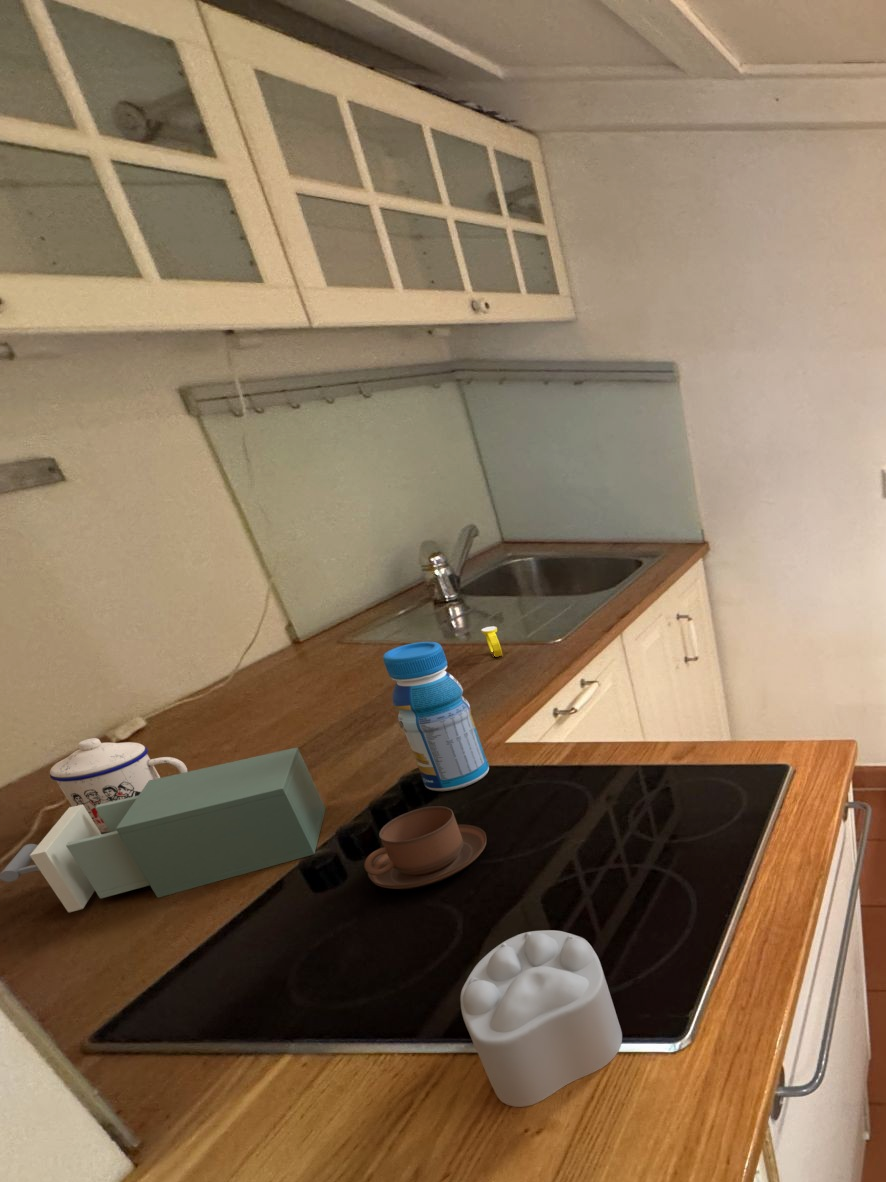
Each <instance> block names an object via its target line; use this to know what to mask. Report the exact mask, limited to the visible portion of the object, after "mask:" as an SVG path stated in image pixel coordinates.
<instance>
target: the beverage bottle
mask: <svg viewBox="0 0 886 1182" xmlns="http://www.w3.org/2000/svg"><path fill="white" fill-rule="evenodd" d="M382 658H383V663H384V666H385V668H386V671H387V674H388V676H389V677H390V678H391V680H392V681H395V682H396V683H395V685H394V688H393V693H392V705H393V707H394V709H396V710H397V711H398V715H397V720H398V724H399V727H400V728H401V729H402V730H403V732H404V735H405V737H406V740H407V743H408V745H409V747H410V750H411V753H412V755H413V757H414V760H415V763H416V765H417V768H418V770H419V773H420V776H421V780H422V782H423V785H424V786H425V788H426V789H428V790H430V791H434V792H448V791H456V790H459V789H460V790H461V789H463V788H466V787H468V786H471V785H474V784H475V783H477V782H479V781H480V780H482V779H484V778H485V777H486V775H487V774H488V772H489V770H490V765H489V762H488V759H487V758H486V754H485V752H484V749H483V745H482V742H481V740H480V736H479V734H478V730H477V727H476V725H475V721H474V719H473V716H472V712H471V705H470V703H469V701H468V700H467V698H465V697H464V696H463V693H464V688H463V686H462V684H461V683H460V682H459V681H458V680H457V678H456V677H454V676H453V675H452V674H450V673H449V672H448V671H447V669H448V661H447V657H446V654H445V651H444V649H443V647H442V645H441V644H440V643H438V642H437V641H436V642H435V641H419V642H418V641H417V642H412V643H407V644H403V645H399V646H396V647H394V648H391V649H390V650H387V651H386V652H385V653H384V654H383V655H382Z"/></svg>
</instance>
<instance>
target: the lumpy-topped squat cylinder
mask: <svg viewBox="0 0 886 1182" xmlns="http://www.w3.org/2000/svg"><path fill="white" fill-rule="evenodd" d="M459 998H460V999H459V1001H460V1009H461V1015H462V1018H463V1022H464V1024H465V1027H466V1029H467V1032H468V1033H469V1036H470V1038H471V1041H472V1043H473V1045H474V1049H475V1050H476V1053H477V1055H478V1057H479V1060H480V1062H481V1065H482V1066H483V1069H484V1071H485V1074H486V1077H487V1079H488V1081H489V1083H490V1085H491V1087H492V1089H493V1092H494V1093H495V1095H496V1097H497V1098H498V1099H499V1101H500V1102H501V1103H503V1104H505V1105H507V1106H510V1107H515V1108H523V1107H525V1108H526V1107H530V1106H532V1105H536V1104H538V1103H540V1102H542V1101H543V1100H545V1099H547V1098H549V1097H550V1096H552V1095H553V1094H555V1093H557V1092H558V1091H559V1090H561V1089H562V1088H564V1087H566V1086H567V1085H569V1084H571V1083H573V1082H575V1081H577V1080H579V1079H581V1078H584V1077H586V1076H589V1075H591V1074H593V1073H596V1072H598V1071H599V1070H601V1069H603V1068H604V1067H606V1066H607V1065H609V1064H610V1063H611V1062H612V1061H613V1060H614V1058H615V1057H616V1056H617V1054H618V1052H619V1051H620V1049H621V1046H622V1043H623V1031H622V1028H621V1025H620V1022H619V1019H618V1014H617V1013H616V1009H615V1006H614V1002H613V999H612V996H611V993H610V989H609V986H608V983H607V980H606V976H605V973H604V970H603V967H602V964H601V961H600V959H599V956H598V955H597V953H596V951H595V950H594V948H593V947H592V945H591V944H590V943H589V942H588V940H586V938H584V937H582V936H579V935H576V934H573V933H569V932H566V931H561V930H555V929H553V930H551V929H547V930H532V931H527V932H523V933H520V934H517V935H514V936H512V937H510V938H508V939H506V940H505V941H503V942H501V943H500V944H498V945H496V947H494V948H493V949H491V951H489V952H488V953H486V954H485V956H484V957H482V959H481V960H479V962H478V963H476V965H475V966H474V967H473V969H472V970H471V972H470V974H469V975H468V976H467V979H466V981H465V983H464V984H463V986H462V988H461V991H460V997H459Z"/></svg>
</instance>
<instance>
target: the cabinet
mask: <svg viewBox="0 0 886 1182" xmlns="http://www.w3.org/2000/svg"><path fill="white" fill-rule="evenodd" d="M326 809H327V808H326V806H325V804H324V802H323V799H322V796H321V795H320V793H319V791H318V788H317V787H316V784H315V781H314V780H313V778H312V775H311V773H310V771H309V769H308V766H307V764H306V762H305V759H304V758H303V756H302V754H301V751H300V750H299V748H298V747H293V748H289V749H283V750H279V751H274V752H270V753H266V754H261V755H257V756H252V757H249V758H248V757H247V758H244V759H239V760H234V761H230V762H226V763H221V764H216V765H213V766H208V767H203V768H199V769H193V770H190V771H188V772H185V773H175V774H173V775H167V776H163V777H160V778H158V779H153V780H149V781H148V783H147V784H146V785H145V787H144V788H143V790H142V791H141V793H140V794H139V796H138V797H137V799H136V800H135V802H134V803H133V804H132V806H131V807H130V809H129V810H128V812H127V813H126V815H125V816H124V818H123V819H122V820H121V822H120V823H119V825H118V826H117V828H116V830H117V832H118V833H119V835H120V837H121V838H122V840H123V842H124V843H125V845H126V847H127V848H128V850H129V852H130V853H131V855H132V857H133V858H134V860H135V862H136V863H137V865H138V866H139V868H140V870H141V871H142V873H143V875H144V876H145V878H146V880H147V881H148V883H149V886H150V888H151V889H152V891H153V893H154V895H155V896H156V898H157V899H159V898H163V897H166V896H170V895H173V894H177V893H180V892H184V891H187V890H193V889H195V888H197V887H202V886H207V885H209V884H213V883H216V882H220V881H224V880H227V879H228V880H229V879H231V878H235V877H239V876H241V875H245V874H249V873H252V872H256V871H259V870H263V869H267V868H271V867H274V866H277V865H282V864H285V863H288V862H292V861H295V860H299V859H303V858H307V857H310V856H313V855H315V854H316V850H317V846H318V843H319V842H318V841H319V837H320V834H321V829H322V825H323V821H324V817H325V813H326Z"/></svg>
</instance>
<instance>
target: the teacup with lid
mask: <svg viewBox="0 0 886 1182" xmlns="http://www.w3.org/2000/svg"><path fill="white" fill-rule="evenodd" d="M77 748H78V749H76V750H75V751H73V752H72V753H71V754H69V756H67V757H65V758H63V759H61V760H60V761H58V762H56V763H55V764H53V766H52V767H51V768H50V770H49V778H50V779H51V780H53V781H55V782H56V783H57V786H59V788H60V790H61V792H62V793H63V794H64V796H65V798H66V799H67V801H68V803H69V805H70V807H73V806H78V805H82V804H83V805H84V807H85V809H86V810H87V812H88V813H89V815H90V817H91V818H92V820H93V822H94V823H95V825H96V826H97V828H98V830H99V831H100V833H101V834H106V833H110V831H109V830H108V828H107V826H106V825H105V823H104V822H103V820H102V818H101V817H100V815H99V813H98V812H97V810H96V809H95V807H96V806H97V805H99V804H103V803H108V802H112V801H117V800H121V799H125V798H130V797H134V796H138V795H139V794H140V793H141V791H142V790H143V788H144V787H145V785H146V784H147V783H148V781H149V780H153V779H158V778H161V776H160V773H158V771H157V769H156V767H155V766H157V765H170V766H174V767H175V769H177V770H178V774H180V773H185V772H189V771H188V767H187V766H186V764H185V763H184V762H183V761H182V760H180V759H178V758H175V757H171V756H162V757H161V756H160V757H157V758H152V759H151V758H150V756H149V754H148V752H149V750H148V748H147V747H146V746H145V745H144V744H141V743H139V742H133V741H128V742H127V741H125V742H124V741H123V742H102V741H101V740H100V739H99V738H96V737H93V738H92V737H91V738H87V739H83V740H81V741H79V742H78V744H77Z"/></svg>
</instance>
